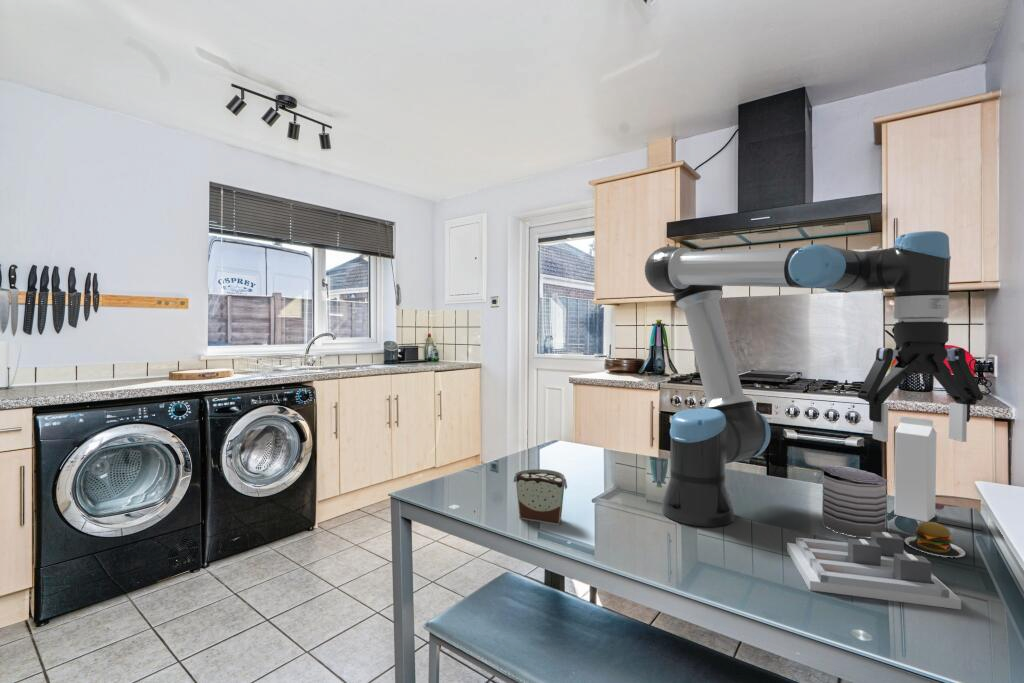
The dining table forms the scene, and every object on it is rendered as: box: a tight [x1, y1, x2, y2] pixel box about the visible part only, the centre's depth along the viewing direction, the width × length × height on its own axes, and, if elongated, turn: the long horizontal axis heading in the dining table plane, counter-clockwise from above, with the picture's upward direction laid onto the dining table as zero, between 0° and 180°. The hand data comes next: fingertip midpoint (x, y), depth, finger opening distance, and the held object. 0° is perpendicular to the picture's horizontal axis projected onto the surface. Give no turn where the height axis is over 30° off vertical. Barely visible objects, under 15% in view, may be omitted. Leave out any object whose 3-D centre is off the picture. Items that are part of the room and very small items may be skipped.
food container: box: [513, 468, 568, 526], centre depth 112 cm, size 12×6×10 cm, turn 65°
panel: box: [786, 537, 962, 610], centre depth 84 cm, size 20×15×3 cm
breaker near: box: [893, 553, 932, 584], centre depth 79 cm, size 4×2×4 cm, turn 74°
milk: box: [893, 416, 937, 522], centre depth 112 cm, size 6×6×22 cm
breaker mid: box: [847, 538, 881, 566], centre depth 84 cm, size 4×2×4 cm, turn 74°
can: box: [820, 464, 889, 537], centre depth 105 cm, size 11×11×12 cm
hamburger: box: [904, 521, 966, 559], centre depth 95 cm, size 12×12×6 cm
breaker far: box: [870, 532, 905, 557], centre depth 87 cm, size 4×2×4 cm, turn 74°
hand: (918, 440), depth 89 cm, fingers open, 13 cm apart
